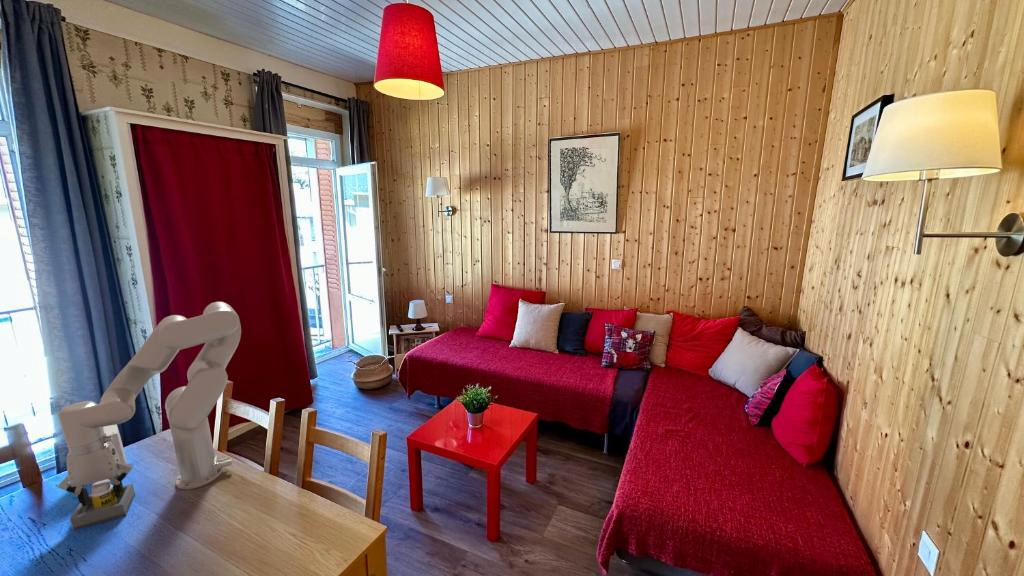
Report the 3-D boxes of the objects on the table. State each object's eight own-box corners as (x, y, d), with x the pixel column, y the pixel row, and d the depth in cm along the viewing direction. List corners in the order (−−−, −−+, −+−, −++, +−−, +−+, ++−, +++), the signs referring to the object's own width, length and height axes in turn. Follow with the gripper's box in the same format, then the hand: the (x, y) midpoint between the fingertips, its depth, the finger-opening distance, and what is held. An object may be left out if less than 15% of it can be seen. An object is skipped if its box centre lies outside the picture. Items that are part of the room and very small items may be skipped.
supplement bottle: (103, 515, 119) (97, 490, 117) (91, 513, 120) (84, 488, 118) (122, 503, 124) (115, 479, 122) (109, 501, 125) (103, 477, 123)
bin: (135, 494, 129) (132, 483, 128) (125, 515, 120) (122, 504, 119) (87, 507, 123) (84, 496, 123) (73, 531, 115) (70, 519, 114)
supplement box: (127, 460, 145) (117, 422, 142) (128, 472, 139) (117, 433, 135) (91, 472, 139) (80, 432, 136) (90, 485, 133) (78, 444, 129)
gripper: (131, 429, 124) (144, 481, 128) (50, 447, 116) (67, 501, 120) (124, 442, 118) (137, 496, 122) (38, 462, 109) (55, 518, 114)
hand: (102, 498), depth 121 cm, fingers open, 6 cm apart
